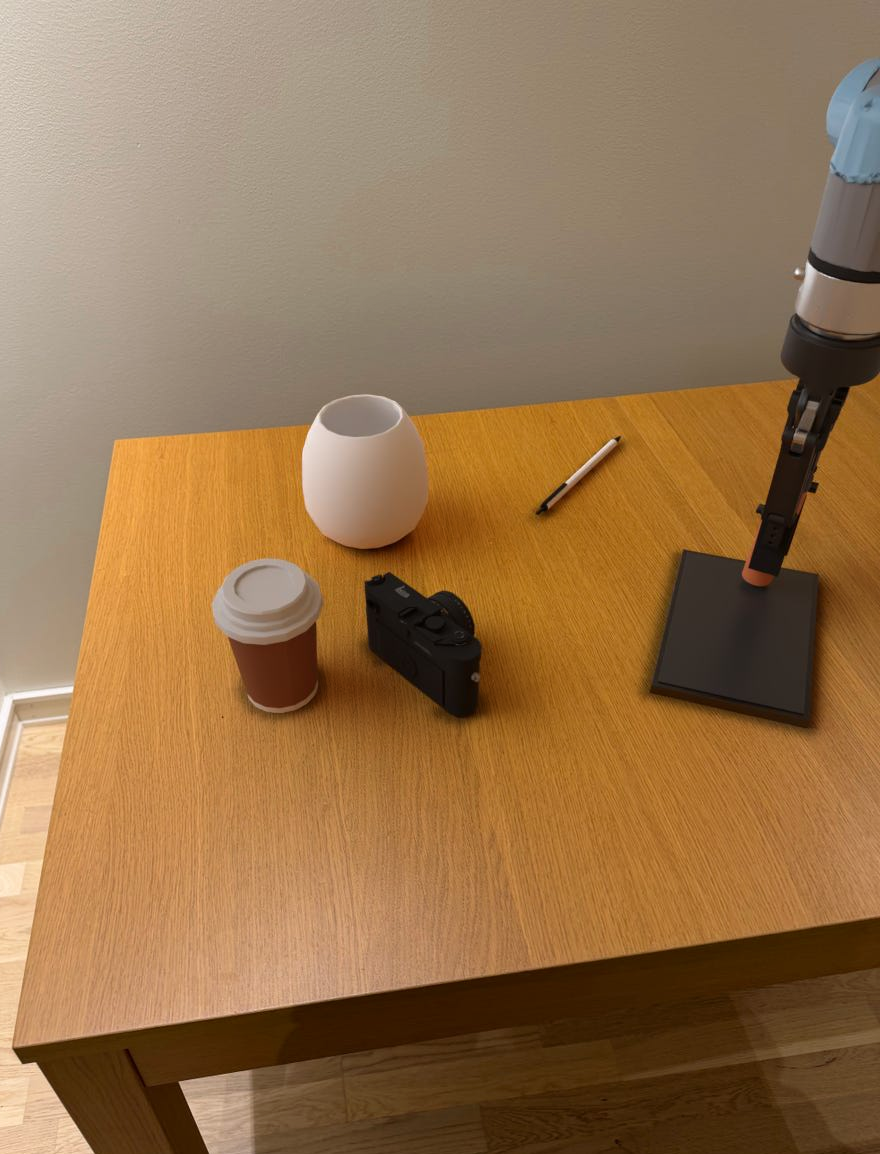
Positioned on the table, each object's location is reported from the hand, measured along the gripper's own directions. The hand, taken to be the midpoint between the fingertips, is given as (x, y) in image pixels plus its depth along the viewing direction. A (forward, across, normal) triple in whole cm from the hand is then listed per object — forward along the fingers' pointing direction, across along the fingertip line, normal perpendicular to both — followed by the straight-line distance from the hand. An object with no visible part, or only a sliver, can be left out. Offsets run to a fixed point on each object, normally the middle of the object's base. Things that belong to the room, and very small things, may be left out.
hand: (768, 559), depth 87 cm
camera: (+4, +24, -23) cm, 33 cm away
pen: (+4, -11, -23) cm, 26 cm away
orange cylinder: (+2, 0, -1) cm, 2 cm away
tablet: (+4, +7, 0) cm, 8 cm away
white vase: (+4, +8, -40) cm, 41 cm away
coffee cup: (+4, +32, -34) cm, 47 cm away
